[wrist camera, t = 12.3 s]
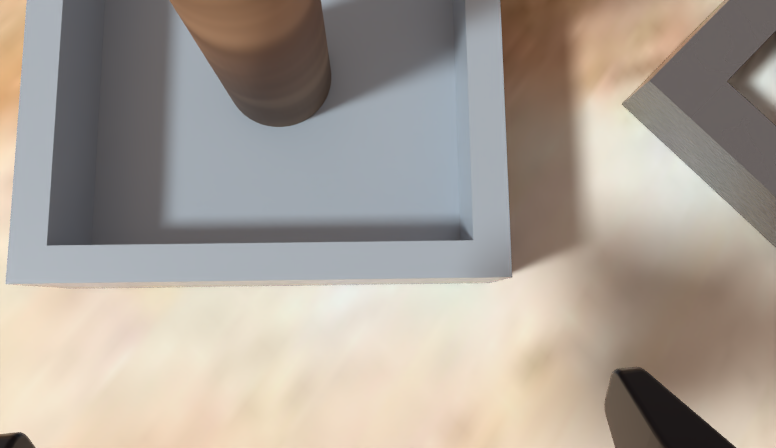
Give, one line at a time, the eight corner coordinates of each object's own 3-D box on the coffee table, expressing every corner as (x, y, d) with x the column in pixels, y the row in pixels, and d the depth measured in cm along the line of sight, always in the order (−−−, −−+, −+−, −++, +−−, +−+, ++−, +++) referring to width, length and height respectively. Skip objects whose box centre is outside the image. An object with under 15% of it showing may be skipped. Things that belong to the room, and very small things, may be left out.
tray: (489, 282, 23) (512, 277, 19) (70, 288, 23) (5, 284, 19) (475, -98, 25) (492, -173, 21) (93, -97, 25) (39, -173, 21)
